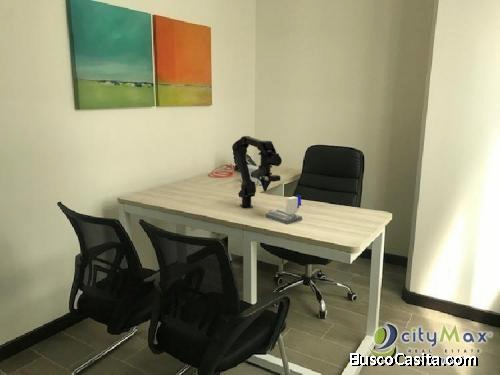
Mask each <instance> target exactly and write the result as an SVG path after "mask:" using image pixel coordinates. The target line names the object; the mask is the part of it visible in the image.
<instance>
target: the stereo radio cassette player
mask: <svg viewBox="0 0 500 375" xmlns="http://www.w3.org/2000/svg"><path fill="white" fill-rule="evenodd" d="M247 165H248V169H249V174H250V179H251V180H252V182H255V186H258V185H259V186H262V184H261V182H260V181H259V180H258V179H257V178H253V177H251V172H253V171H255V170H256V169H258V166H259V165H257V166H256V165H253V164H252V163H250V162H249V161H248V160H247ZM240 181H242V176H241V175H240Z"/></svg>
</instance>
